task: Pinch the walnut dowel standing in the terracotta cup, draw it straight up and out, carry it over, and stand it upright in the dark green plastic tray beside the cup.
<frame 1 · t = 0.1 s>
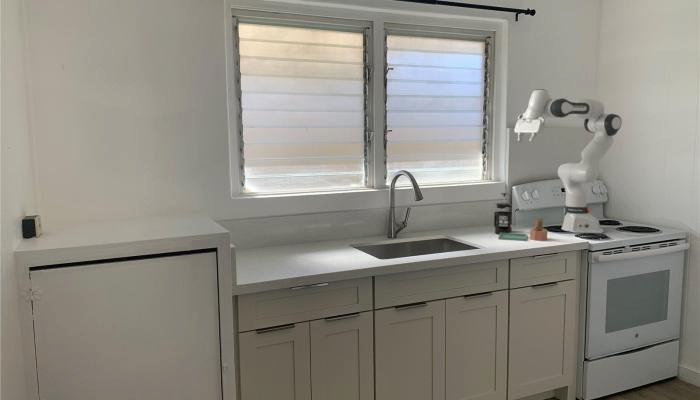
hand: (525, 141, 293), 52 cm above the worktop, tool tilted 20°, fingers open, 8 cm apart
french press: (502, 233, 304), on the worktop
cup: (538, 240, 282), on the worktop
tray: (512, 239, 286), on the worktop
dowel: (538, 239, 282), point 1 cm above the worktop, touching cup
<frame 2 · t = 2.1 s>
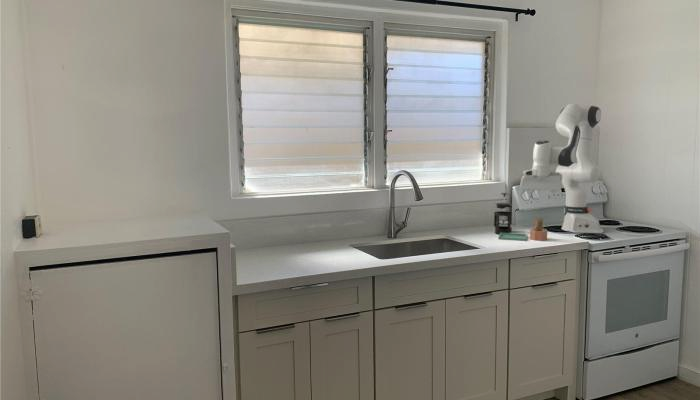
hand: (539, 198, 279), 23 cm above the worktop, tool pointing down, fingers open, 8 cm apart
nothing on the worktop moved.
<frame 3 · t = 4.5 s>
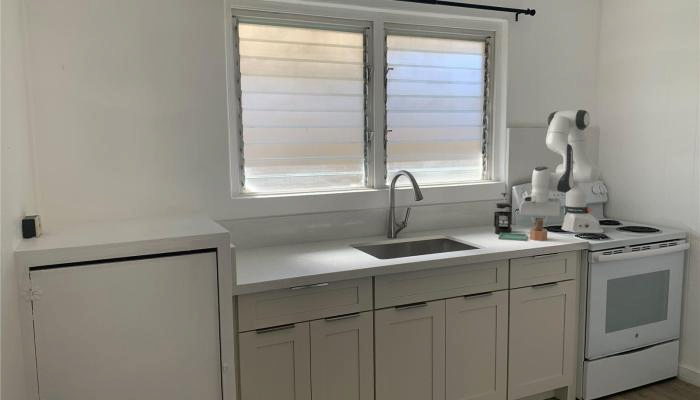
hand: (539, 224, 281), 9 cm above the worktop, tool pointing down, fingers closed on dowel, 4 cm apart
dowel: (538, 239, 282), point 1 cm above the worktop, touching cup, gripper
everything else where it was.
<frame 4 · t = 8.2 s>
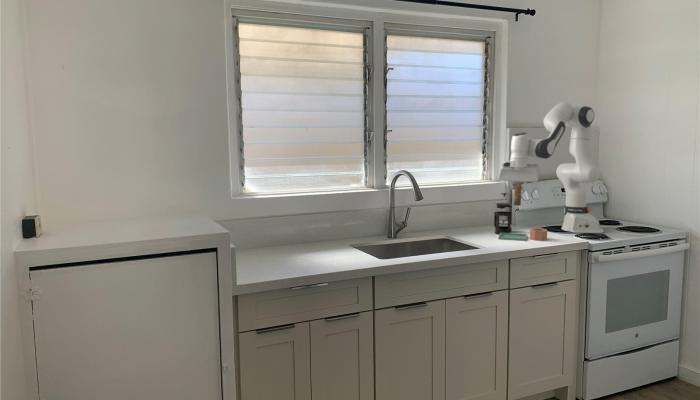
hand: (517, 189, 282), 27 cm above the worktop, tool pointing down, fingers closed on dowel, 4 cm apart
dowel: (517, 205, 283), point 19 cm above the worktop, touching gripper
everything else where it was.
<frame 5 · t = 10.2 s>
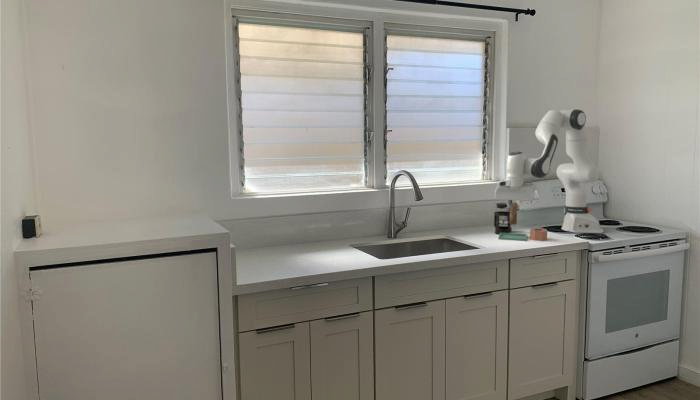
hand: (513, 208, 284), 17 cm above the worktop, tool pointing down, fingers closed on dowel, 4 cm apart
dowel: (513, 223, 285), point 9 cm above the worktop, touching gripper
everything else where it was.
when the fingers open (10 cm above the worktop, at t = 12.2 s): dowel stays where it is, resting on tray.
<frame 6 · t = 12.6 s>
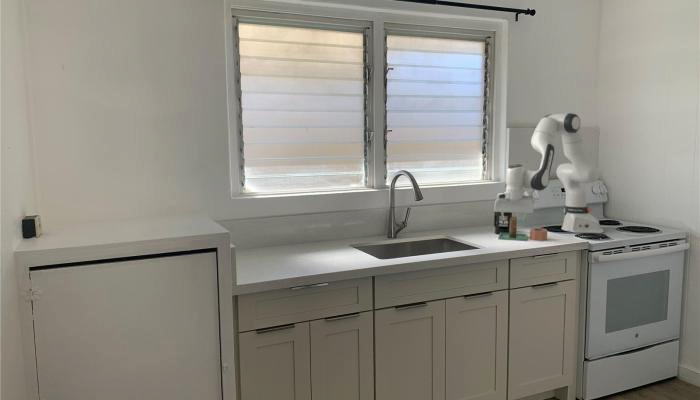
hand: (513, 220, 285), 10 cm above the worktop, tool pointing down, fingers open, 8 cm apart
dowel: (512, 237, 286), point 1 cm above the worktop, touching tray
everything else where it was.
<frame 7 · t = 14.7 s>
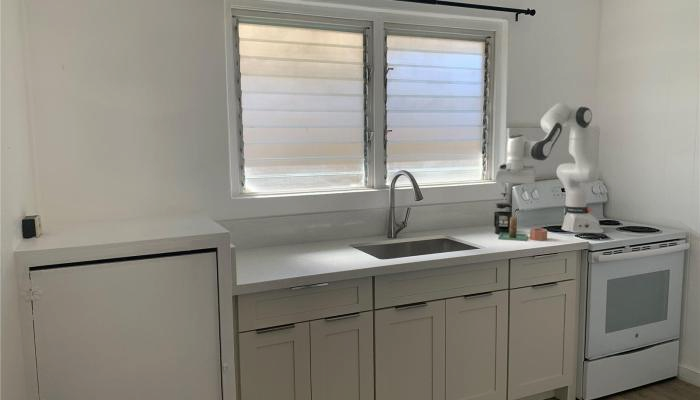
hand: (514, 191, 283), 26 cm above the worktop, tool pointing down, fingers open, 8 cm apart
nothing on the worktop moved.
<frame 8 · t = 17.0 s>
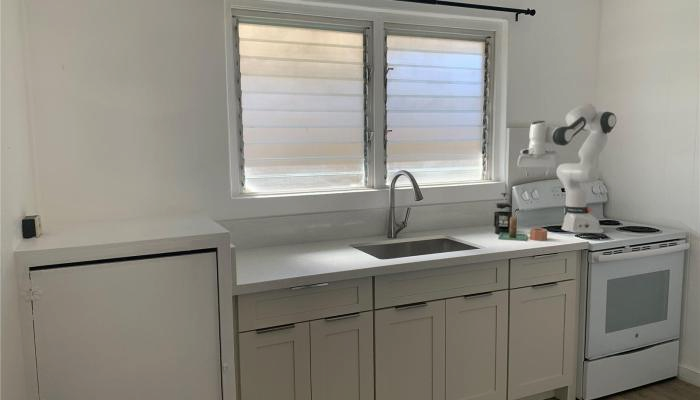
hand: (536, 176, 292), 33 cm above the worktop, tool pointing down, fingers open, 8 cm apart
nothing on the worktop moved.
at the end: dowel inside the target area on the tray (0.0 cm from its centre), point 1.0 cm above the tray's base; dowel tilted 0°; the gripper is holding nothing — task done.
